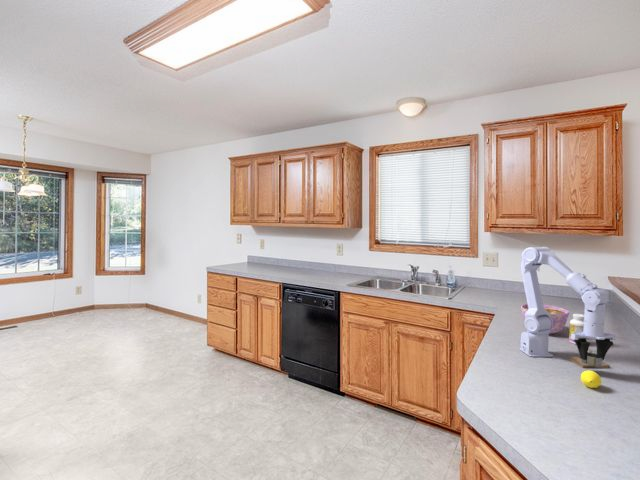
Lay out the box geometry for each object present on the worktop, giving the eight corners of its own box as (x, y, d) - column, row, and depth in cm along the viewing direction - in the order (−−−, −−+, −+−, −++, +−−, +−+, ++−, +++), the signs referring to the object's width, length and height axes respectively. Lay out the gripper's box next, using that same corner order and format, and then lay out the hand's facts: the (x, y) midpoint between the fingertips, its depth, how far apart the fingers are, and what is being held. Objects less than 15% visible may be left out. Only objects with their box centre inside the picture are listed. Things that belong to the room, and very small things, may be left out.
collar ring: (590, 366, 120) (590, 358, 120) (577, 359, 125) (578, 352, 125) (605, 366, 120) (606, 358, 120) (593, 360, 125) (593, 352, 125)
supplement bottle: (569, 339, 157) (570, 312, 157) (587, 342, 153) (588, 314, 152) (568, 343, 152) (569, 315, 151) (587, 347, 148) (588, 318, 147)
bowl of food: (553, 326, 177) (554, 304, 177) (578, 339, 157) (579, 314, 157) (512, 325, 179) (513, 303, 179) (532, 337, 159) (533, 313, 159)
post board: (582, 367, 127) (583, 354, 126) (567, 359, 135) (567, 346, 134) (609, 368, 127) (610, 354, 126) (592, 359, 135) (593, 346, 134)
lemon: (580, 382, 116) (581, 366, 116) (601, 387, 113) (602, 371, 113) (579, 387, 111) (580, 370, 111) (600, 392, 107) (601, 375, 108)
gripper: (582, 325, 118) (580, 363, 118) (624, 325, 118) (621, 363, 118) (567, 319, 125) (565, 355, 126) (606, 319, 125) (604, 355, 126)
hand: (591, 359), depth 122 cm, fingers closed on collar ring, 6 cm apart
